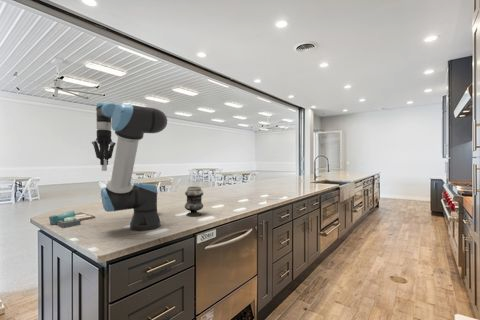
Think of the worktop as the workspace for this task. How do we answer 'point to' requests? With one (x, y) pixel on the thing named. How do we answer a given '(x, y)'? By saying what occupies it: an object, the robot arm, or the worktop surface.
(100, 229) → the worktop surface
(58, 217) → the teal square-headed peg
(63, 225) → the button housing
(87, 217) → the clipboard
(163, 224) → the worktop surface
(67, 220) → the button
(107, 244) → the worktop surface
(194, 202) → the apothecary jar
